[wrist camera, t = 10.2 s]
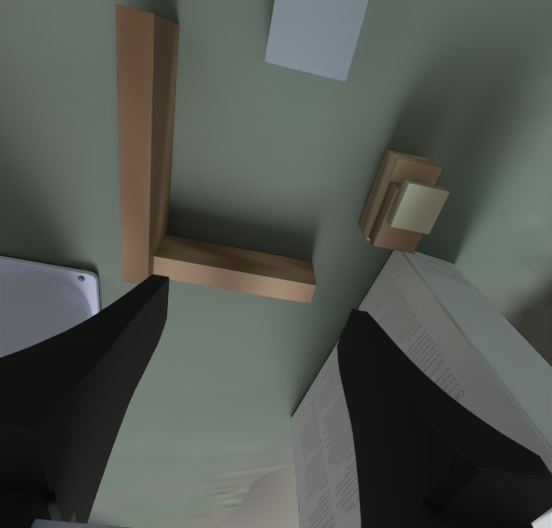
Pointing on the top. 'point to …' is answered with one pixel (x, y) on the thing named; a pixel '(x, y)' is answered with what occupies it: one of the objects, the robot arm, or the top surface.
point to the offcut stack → (402, 202)
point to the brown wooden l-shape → (157, 177)
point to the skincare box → (437, 366)
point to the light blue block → (315, 35)
